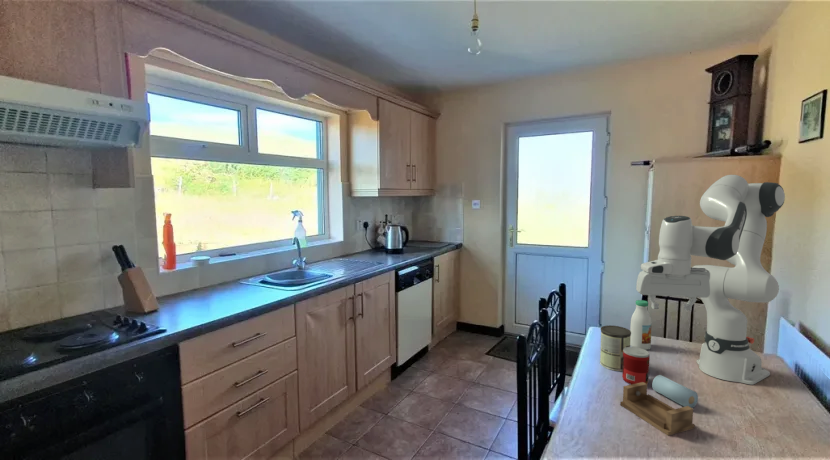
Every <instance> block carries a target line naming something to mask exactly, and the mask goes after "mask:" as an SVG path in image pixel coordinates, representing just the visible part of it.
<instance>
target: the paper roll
mask: <svg viewBox="0 0 830 460" xmlns="http://www.w3.org/2000/svg"><path fill="white" fill-rule="evenodd" d="M651 386H652V387H651V388H652V389H653V391H655V392H657V393H659V394H660V395H662V396H663V397H666V398H667V399H669V400H671V401H674V403H676V404H679V405H681V406H682V407H686V406H689V407H691V408H693V409H694V408H695V406H697V404H698V401H699V396H698V393H697V392H696V391H695V390H693V389H690V388H689V387H686V386H684V385H683V384H681V383H678V382H676V381H674V380H671V379H670V378H668V377H666V376H664V375H662V374H657V375H656V376H654V378H653V380H652V385H651Z"/></svg>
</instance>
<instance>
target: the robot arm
mask: <svg viewBox="0 0 830 460" xmlns="http://www.w3.org/2000/svg"><path fill="white" fill-rule="evenodd" d="M785 195H786V193H785V191H784V188H783V187H782V185H780V184H779V183H777V182H770V181H765V182H762V183H761V182H755V183H752V182H751V183H748V180H746V178H744V176H741V175H738V174H726V175H724V176H722V177H720V178H718V179H717V180H716V181H715V182H713V183H712V184H711V185H710V186H709V187H708V188H707V189H706V190H705V192H704V193H703V194H702V195H701V198H700V200H699V207H700V209H701V211H702V212H703V214H705V216H707V217H708V218H710V219H712V220H715V221H721V222H724V225H723V226H700V225H693V223H692V218H691V217H690V216H685V215H669V216H667V217H664V218H663V219H662V221H661V224H660V228H659V235H658V246H659V252H658V254H657V259H655V260H651V261H647V262H643V263H641V264H640V270H641V271H639V273H638V274H637V279H636V288H635V289H636V292H637V293H638V294H640V295H641V296H647V297H648V299H649V301H650V302H651V308H652V310H658V309H659V307H660V303H658V302H656V300H655V299H656V298H657V297H656V296H660V297H661V296H662V297H682V298H686V297H687V298H688V299H689V300H688V301H687V302H686V303H683V310H684V311H687V312H688V311H689V312H691V311H693V310H692V309H693V308H692V307H693V305H694V304H695V303H696V302H697V298H700V300H701V301H702V303H703V305H704V307H705V311H706V331H705V334H704V342H703V343H702V344H701V347H700V348H701V349H700V355H699V358H698V359H697V360H696V363H697V364H698V367H699V370H700V371H702V372H703V373H704V374H706V375H708V376H711V377H713V378H716V379H720V380H723V381H728V382H736V383H742V384H746V385H752V386H753V385H755V384H757V383H759V382H760V381H762V380H764V379H766V378H768V377H769V376H770V375H771V372H770V371H769V370H767V369H765V368H764V367H762V363H763V362H762V357H760V356H759V354H757V353H756V352H755V351H754V350H752V349H751V348H750V344H751V345H753V344H754V343H755V338H754V337H750V336H747V332H748V329H747V328H748V318H747V315H745V313H743V311H741V310H740V309H738V308H736V307H735V306H733V304H731V302H730V301H729V299H731V300H737V301H741V302H742V301H743V302H747V303H768V304H769V303H771V302H772V301H774V300H775V298H777V296H778V294H779V291H780V285H779V282H778V280H777V279H776V278H775V277H774V275H772V274H770V272H768V271H767V270H766V269H765V268H764V267H763V265H762V263H761V255H762V251H763V247H764V243H765V241H766V236H767V232H768V231H767V228H768V222H767V219H766V218H770V217H773V215H774V214H775V213H777V212H778V211H779V210H780V209H781V208H782V207H783V206H784V203H785V199H786V196H785ZM692 256H695V257H703V258H711V259H716V260H720V261H727V262H728V263H730V264H731V265H734V267H729V266H728V267H727V266H723V265H722V266H720V265H713V264H712V265H711V264H700V265H699V264H697V265H693V266H692Z"/></svg>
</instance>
